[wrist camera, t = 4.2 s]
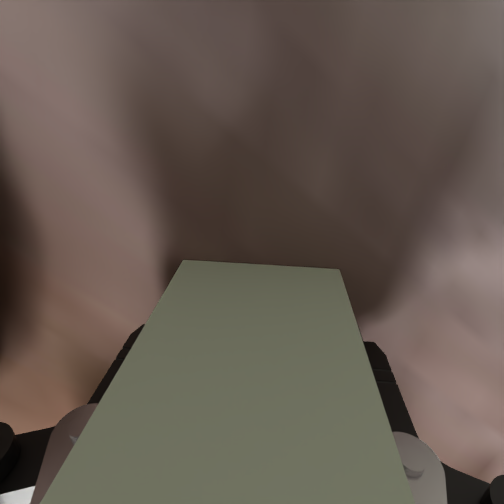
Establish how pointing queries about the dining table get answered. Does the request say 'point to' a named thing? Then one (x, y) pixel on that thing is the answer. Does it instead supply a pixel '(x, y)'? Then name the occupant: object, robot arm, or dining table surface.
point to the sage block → (240, 400)
